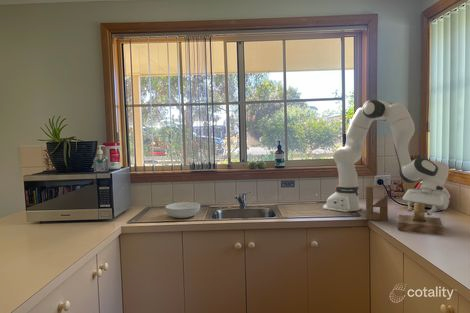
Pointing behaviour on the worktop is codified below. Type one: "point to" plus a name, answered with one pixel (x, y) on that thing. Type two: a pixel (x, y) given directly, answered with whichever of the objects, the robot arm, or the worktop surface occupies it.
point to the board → (420, 225)
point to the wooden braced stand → (381, 203)
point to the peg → (419, 212)
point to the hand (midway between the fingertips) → (418, 212)
